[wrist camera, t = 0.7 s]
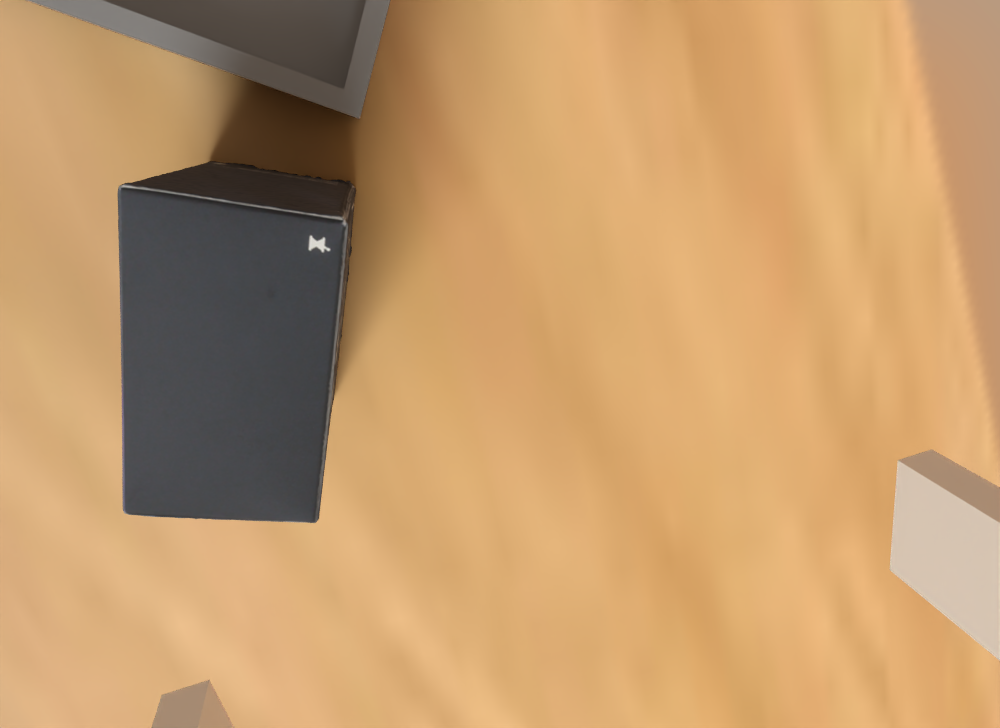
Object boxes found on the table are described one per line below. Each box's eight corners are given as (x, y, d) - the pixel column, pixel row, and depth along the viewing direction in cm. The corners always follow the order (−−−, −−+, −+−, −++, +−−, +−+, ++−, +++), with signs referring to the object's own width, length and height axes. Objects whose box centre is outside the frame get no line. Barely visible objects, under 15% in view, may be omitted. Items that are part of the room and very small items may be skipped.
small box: (196, 154, 26) (102, 172, 16) (358, 181, 28) (359, 211, 18) (190, 392, 29) (110, 522, 20) (335, 403, 31) (326, 528, 21)
